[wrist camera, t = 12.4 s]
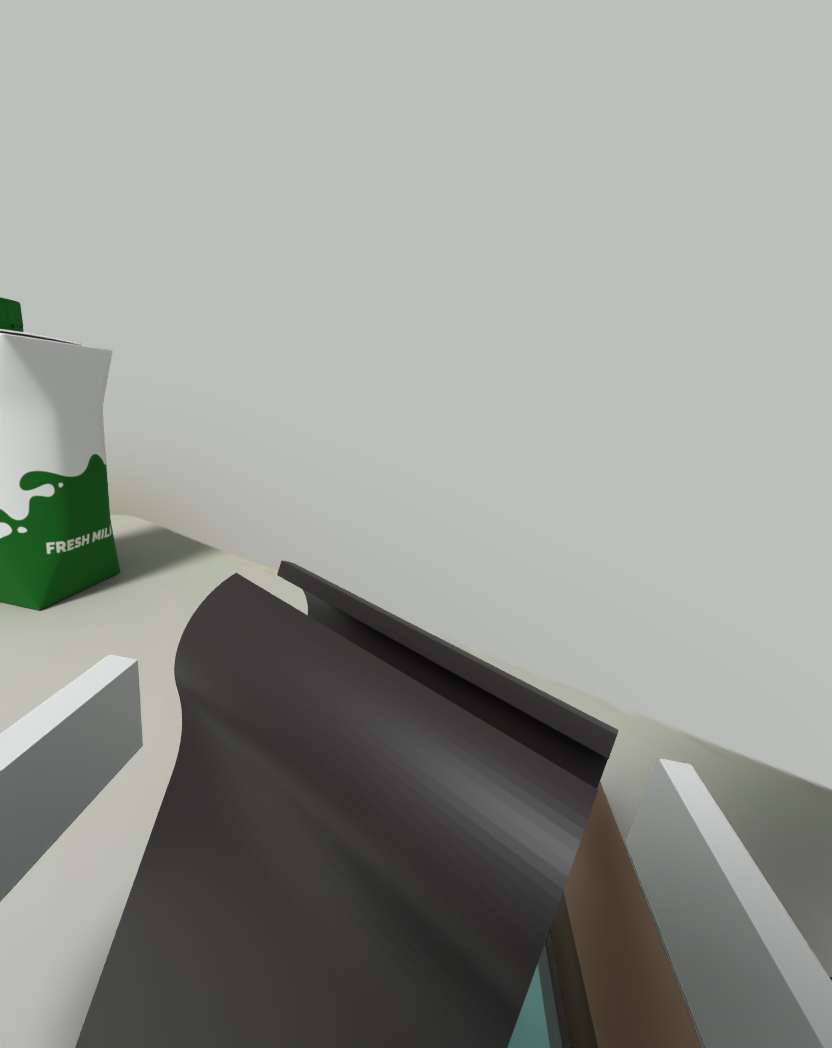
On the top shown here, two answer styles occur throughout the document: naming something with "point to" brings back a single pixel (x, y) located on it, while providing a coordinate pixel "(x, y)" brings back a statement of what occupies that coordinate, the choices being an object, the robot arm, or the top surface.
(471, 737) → the phone stand
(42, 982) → the top surface
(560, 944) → the strip
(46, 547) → the milk carton
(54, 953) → the top surface
